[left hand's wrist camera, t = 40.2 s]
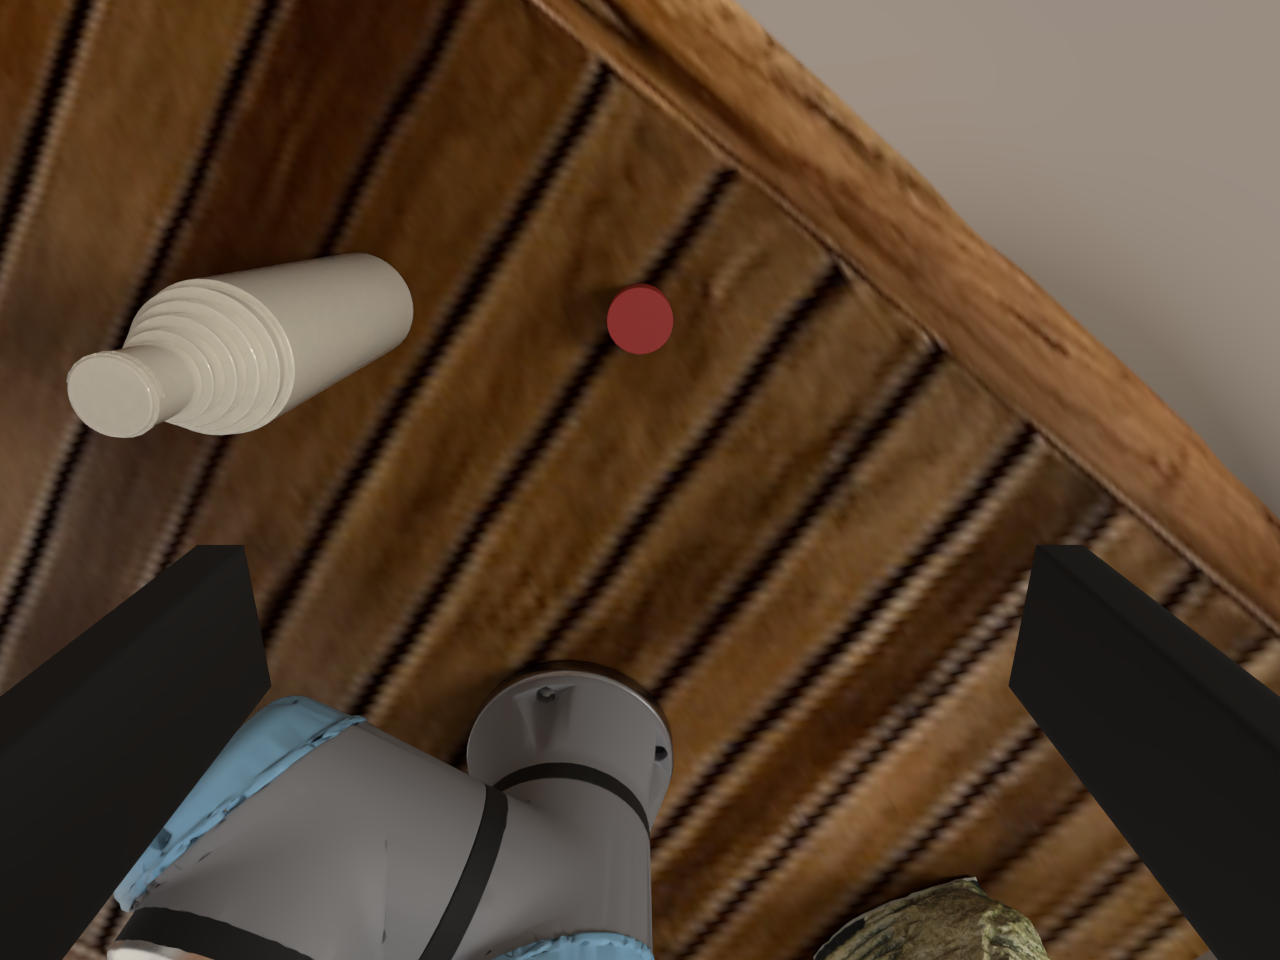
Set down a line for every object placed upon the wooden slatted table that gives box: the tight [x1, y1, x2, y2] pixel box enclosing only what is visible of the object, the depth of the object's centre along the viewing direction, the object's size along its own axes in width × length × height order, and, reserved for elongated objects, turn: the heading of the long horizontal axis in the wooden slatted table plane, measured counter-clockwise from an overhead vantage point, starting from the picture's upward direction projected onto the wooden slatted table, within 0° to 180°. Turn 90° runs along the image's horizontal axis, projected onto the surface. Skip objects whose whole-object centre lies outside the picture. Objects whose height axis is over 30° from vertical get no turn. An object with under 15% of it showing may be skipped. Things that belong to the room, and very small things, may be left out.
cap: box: [607, 284, 673, 354], centre depth 46 cm, size 4×4×2 cm
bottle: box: [66, 253, 413, 438], centre depth 35 cm, size 6×6×24 cm
